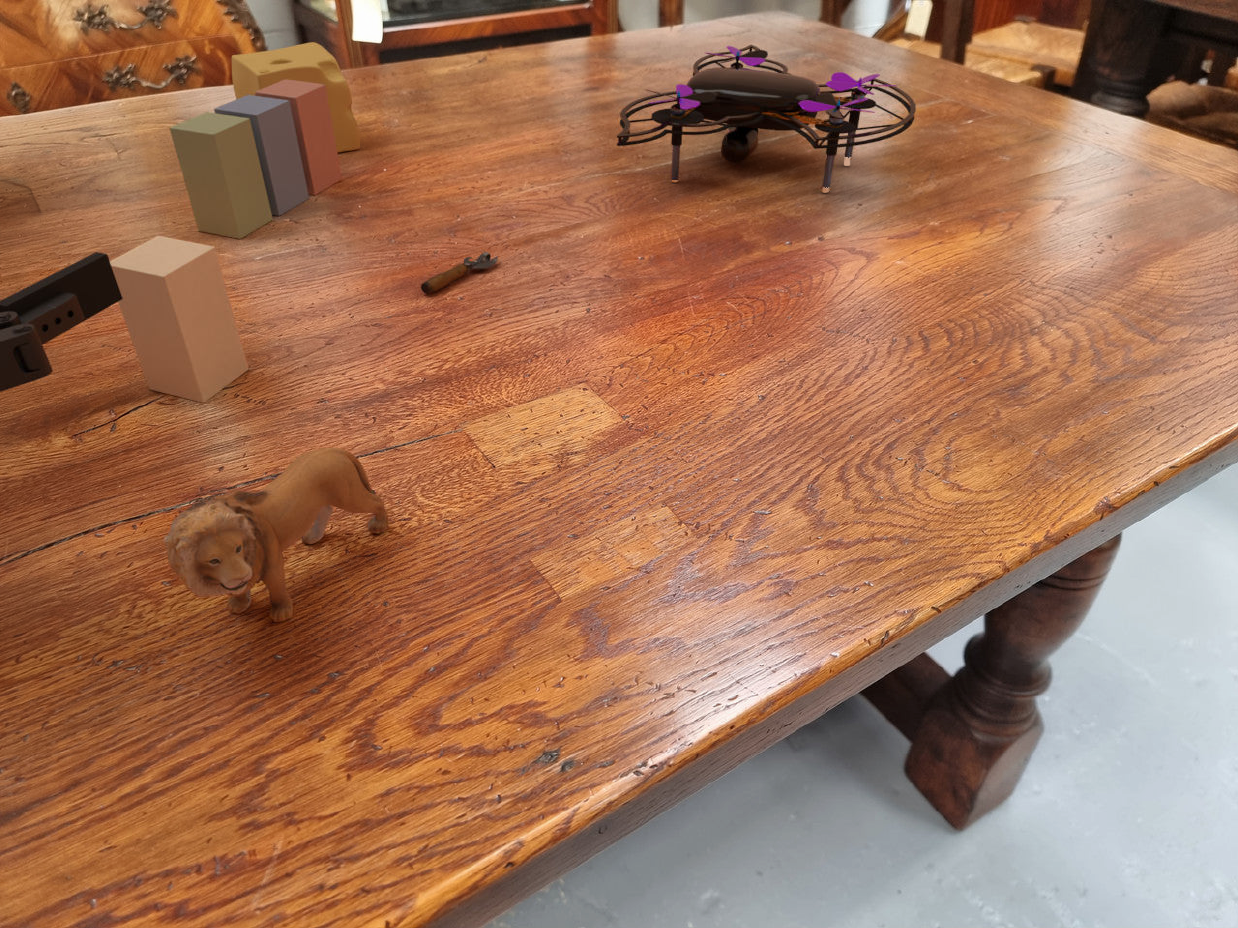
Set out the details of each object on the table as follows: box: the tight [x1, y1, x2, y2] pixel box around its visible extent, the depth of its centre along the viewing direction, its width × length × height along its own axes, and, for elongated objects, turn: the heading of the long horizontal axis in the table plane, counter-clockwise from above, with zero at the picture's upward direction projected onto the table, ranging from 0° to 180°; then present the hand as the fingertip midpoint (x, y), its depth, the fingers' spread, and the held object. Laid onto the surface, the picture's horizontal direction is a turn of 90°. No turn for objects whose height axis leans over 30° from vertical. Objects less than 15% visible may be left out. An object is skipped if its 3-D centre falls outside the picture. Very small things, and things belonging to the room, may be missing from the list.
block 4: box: [255, 79, 343, 196], centre depth 97 cm, size 5×5×10 cm
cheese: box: [231, 41, 361, 153], centre depth 107 cm, size 10×11×10 cm
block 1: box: [169, 111, 274, 240], centre depth 88 cm, size 5×5×10 cm
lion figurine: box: [163, 447, 389, 623], centre depth 50 cm, size 15×5×9 cm, turn 160°
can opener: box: [420, 251, 499, 295], centre depth 82 cm, size 9×2×1 cm, turn 140°
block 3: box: [213, 95, 310, 217], centre depth 93 cm, size 5×5×10 cm
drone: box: [616, 44, 917, 188], centre depth 102 cm, size 40×10×28 cm
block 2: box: [109, 235, 249, 404], centre depth 66 cm, size 5×5×10 cm
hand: (17, 256), depth 53 cm, fingers open, 13 cm apart
